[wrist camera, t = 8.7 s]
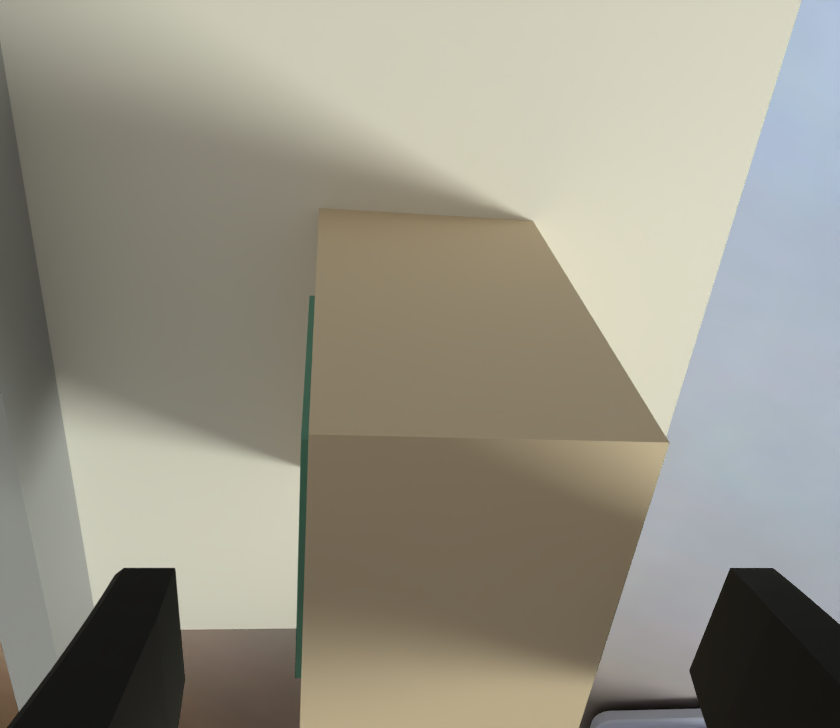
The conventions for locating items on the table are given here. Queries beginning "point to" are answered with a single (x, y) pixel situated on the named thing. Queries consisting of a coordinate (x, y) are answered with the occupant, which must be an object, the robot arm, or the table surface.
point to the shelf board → (309, 244)
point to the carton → (459, 479)
